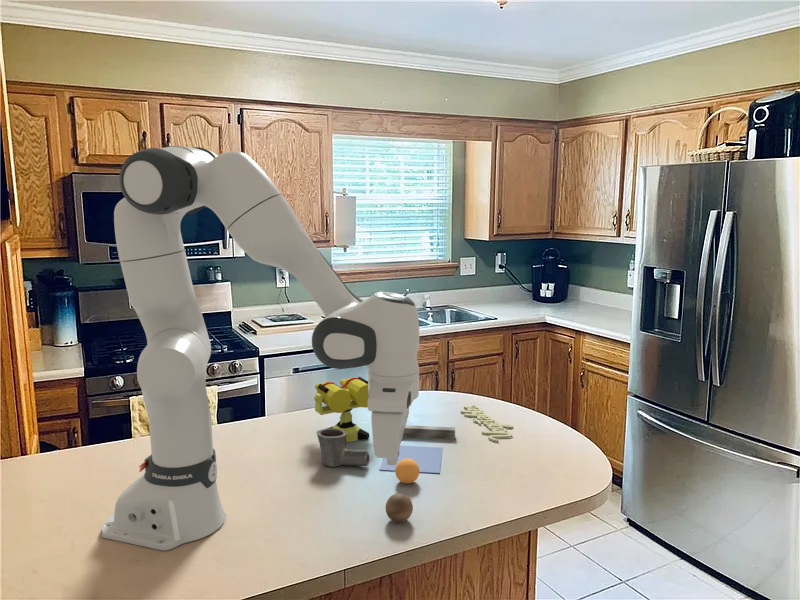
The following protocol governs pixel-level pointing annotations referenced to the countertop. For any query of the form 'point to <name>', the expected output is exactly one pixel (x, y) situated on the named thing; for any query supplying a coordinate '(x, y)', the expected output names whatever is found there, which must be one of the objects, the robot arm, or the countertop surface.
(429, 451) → the blue mark
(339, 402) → the toy
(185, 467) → the robot arm
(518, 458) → the countertop surface
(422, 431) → the rail
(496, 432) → the decorative sign
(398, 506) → the walnut ball
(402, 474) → the orange ball
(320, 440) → the pipe
